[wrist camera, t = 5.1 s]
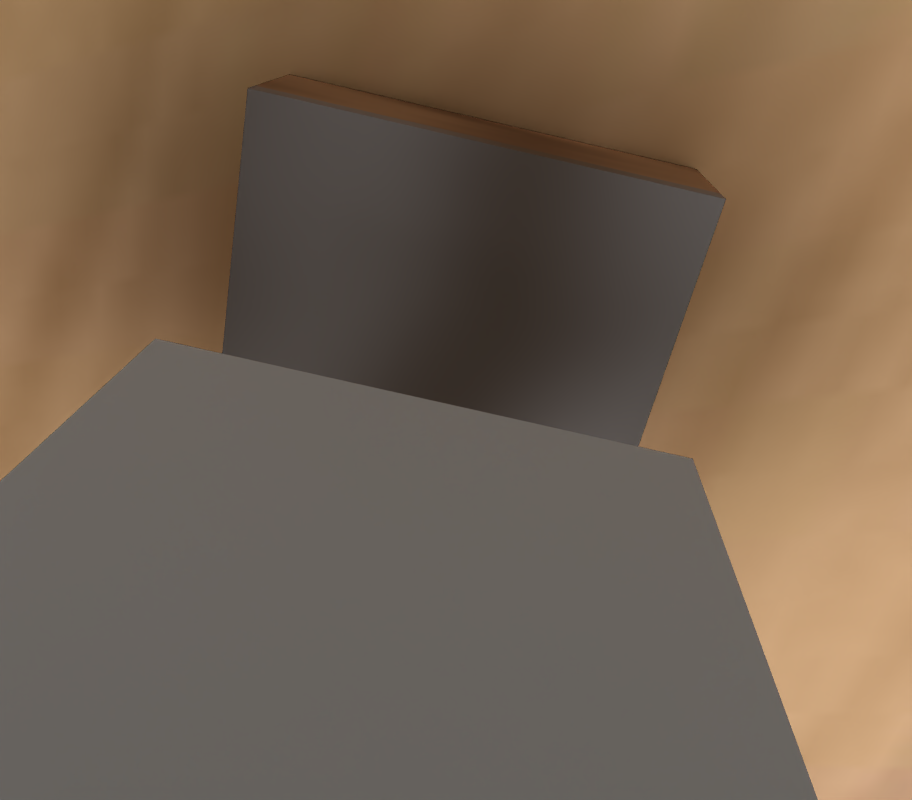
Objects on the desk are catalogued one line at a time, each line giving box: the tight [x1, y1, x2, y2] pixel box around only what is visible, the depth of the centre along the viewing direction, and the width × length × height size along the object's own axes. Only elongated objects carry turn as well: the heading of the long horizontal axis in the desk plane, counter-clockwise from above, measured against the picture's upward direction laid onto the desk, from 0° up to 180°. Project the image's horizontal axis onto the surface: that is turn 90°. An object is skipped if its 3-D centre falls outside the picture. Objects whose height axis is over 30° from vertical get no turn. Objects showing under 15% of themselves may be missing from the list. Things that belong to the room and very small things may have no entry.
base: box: [222, 74, 726, 446], centre depth 19 cm, size 9×9×3 cm
